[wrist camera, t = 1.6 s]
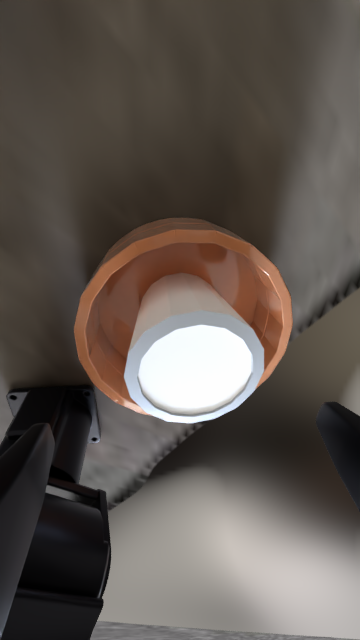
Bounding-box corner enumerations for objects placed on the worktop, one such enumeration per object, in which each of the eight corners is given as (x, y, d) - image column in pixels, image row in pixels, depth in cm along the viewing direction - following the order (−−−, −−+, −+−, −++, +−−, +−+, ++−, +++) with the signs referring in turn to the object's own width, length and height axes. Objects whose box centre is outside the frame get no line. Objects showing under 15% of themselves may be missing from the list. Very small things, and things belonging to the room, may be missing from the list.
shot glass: (245, 309, 19) (291, 371, 13) (177, 365, 21) (190, 442, 15) (183, 241, 16) (205, 279, 10) (109, 311, 18) (91, 380, 12)
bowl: (247, 371, 23) (268, 412, 19) (100, 378, 21) (89, 423, 17) (278, 220, 17) (319, 233, 13) (78, 213, 15) (55, 226, 11)
